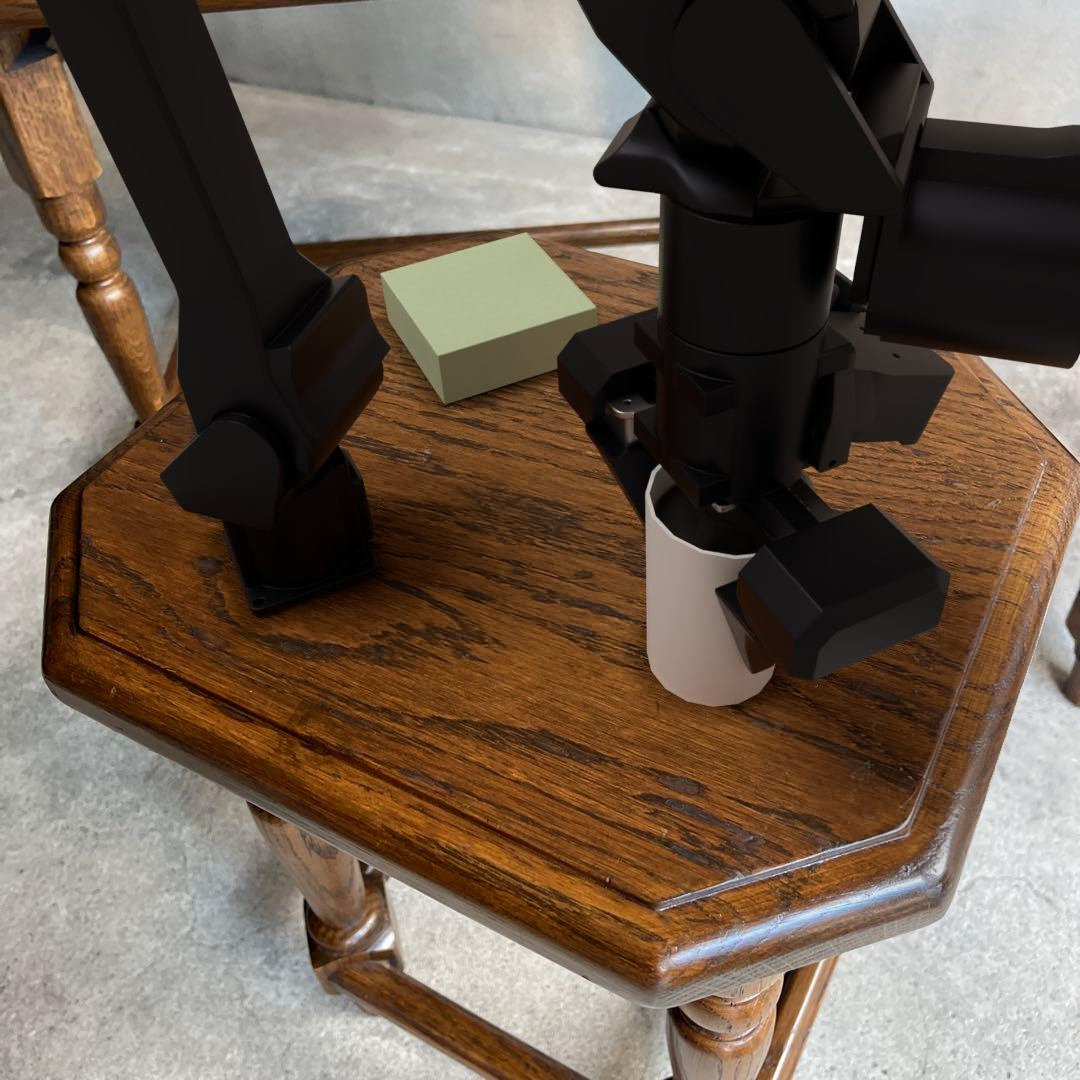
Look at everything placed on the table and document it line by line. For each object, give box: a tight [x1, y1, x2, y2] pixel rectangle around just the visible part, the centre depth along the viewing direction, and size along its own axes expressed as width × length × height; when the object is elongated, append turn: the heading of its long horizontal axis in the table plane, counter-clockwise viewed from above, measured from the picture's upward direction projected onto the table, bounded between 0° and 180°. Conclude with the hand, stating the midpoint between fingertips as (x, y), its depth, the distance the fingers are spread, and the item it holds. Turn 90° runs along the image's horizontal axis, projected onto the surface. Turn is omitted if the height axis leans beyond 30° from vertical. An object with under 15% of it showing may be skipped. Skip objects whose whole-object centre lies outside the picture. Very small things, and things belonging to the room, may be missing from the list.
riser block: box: [380, 232, 598, 405], centre depth 68 cm, size 10×10×4 cm
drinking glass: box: [645, 464, 818, 708], centre depth 46 cm, size 7×7×10 cm
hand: (716, 612), depth 48 cm, fingers closed on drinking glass, 6 cm apart
